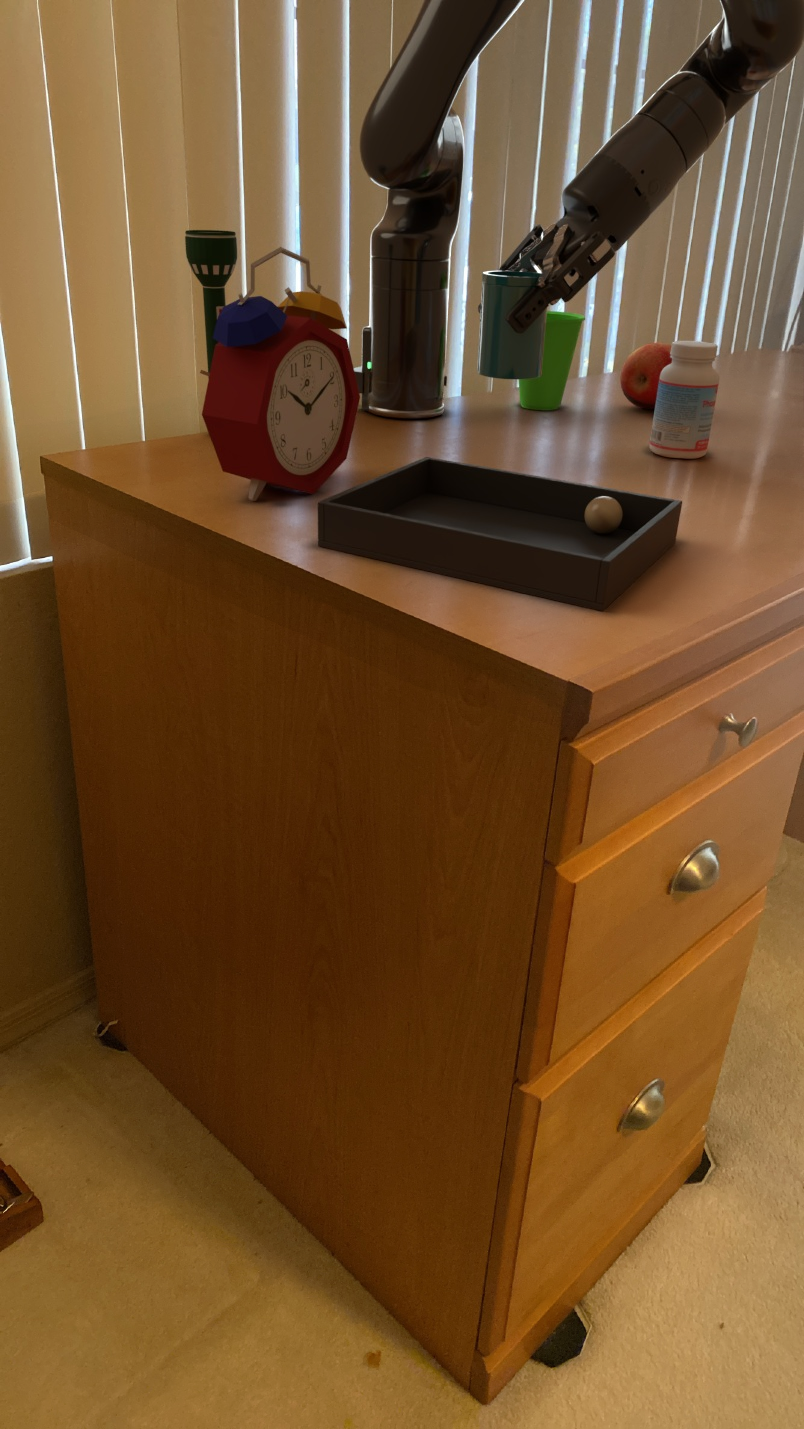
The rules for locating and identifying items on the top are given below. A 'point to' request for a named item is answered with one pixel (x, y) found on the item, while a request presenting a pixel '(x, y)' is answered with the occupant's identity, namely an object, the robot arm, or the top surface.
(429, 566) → the tray
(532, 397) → the cup
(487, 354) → the pour cup
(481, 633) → the top surface
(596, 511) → the ball
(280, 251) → the alarm clock
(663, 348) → the apple
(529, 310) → the robot arm
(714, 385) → the pill bottle
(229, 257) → the flashlight
